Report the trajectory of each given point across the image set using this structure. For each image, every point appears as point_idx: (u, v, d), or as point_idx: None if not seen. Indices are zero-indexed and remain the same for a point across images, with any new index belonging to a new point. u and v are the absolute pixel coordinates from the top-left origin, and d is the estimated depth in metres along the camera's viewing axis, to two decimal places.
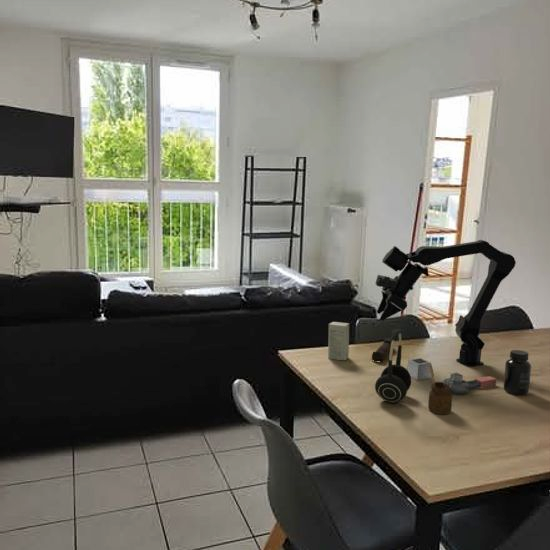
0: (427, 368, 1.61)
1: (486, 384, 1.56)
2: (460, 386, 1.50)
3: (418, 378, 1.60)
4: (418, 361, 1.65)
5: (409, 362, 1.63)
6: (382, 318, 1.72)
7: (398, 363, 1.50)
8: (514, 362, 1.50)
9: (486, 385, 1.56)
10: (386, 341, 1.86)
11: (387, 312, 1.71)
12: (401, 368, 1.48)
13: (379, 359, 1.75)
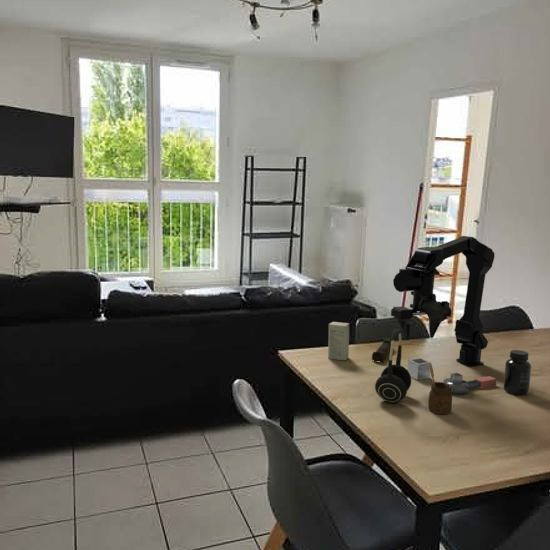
0: (427, 368, 1.61)
1: (486, 384, 1.56)
2: (460, 386, 1.50)
3: (418, 378, 1.60)
4: (418, 361, 1.65)
5: (409, 362, 1.63)
6: None
7: (398, 363, 1.50)
8: (514, 362, 1.50)
9: (486, 385, 1.56)
10: (385, 341, 1.86)
11: None
12: (401, 368, 1.48)
13: (380, 359, 1.75)
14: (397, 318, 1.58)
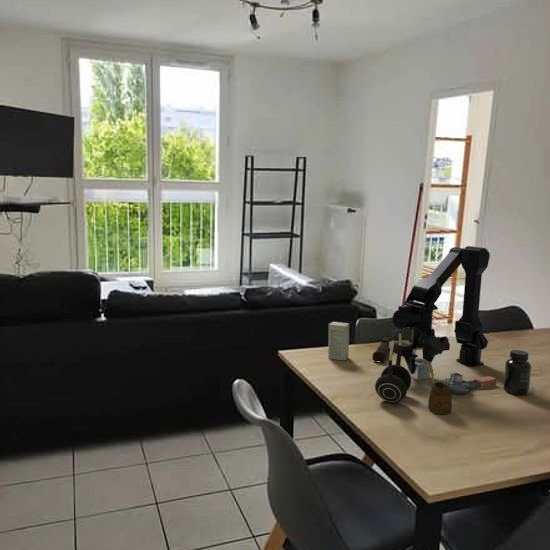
0: (427, 368, 1.61)
1: (486, 384, 1.56)
2: (460, 386, 1.50)
3: (418, 378, 1.60)
4: (418, 361, 1.65)
5: None
6: None
7: (398, 363, 1.50)
8: (514, 362, 1.50)
9: (486, 385, 1.56)
10: (384, 341, 1.87)
11: None
12: (401, 368, 1.48)
13: (380, 359, 1.75)
14: None
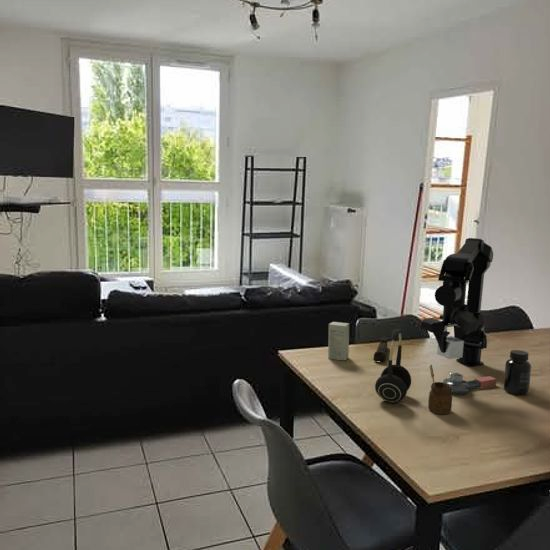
0: (459, 346, 1.51)
1: (486, 384, 1.56)
2: (460, 386, 1.50)
3: (450, 357, 1.50)
4: (449, 339, 1.55)
5: None
6: None
7: (398, 363, 1.50)
8: (514, 362, 1.50)
9: (486, 385, 1.56)
10: (383, 340, 1.87)
11: None
12: (401, 368, 1.48)
13: (382, 359, 1.75)
14: None
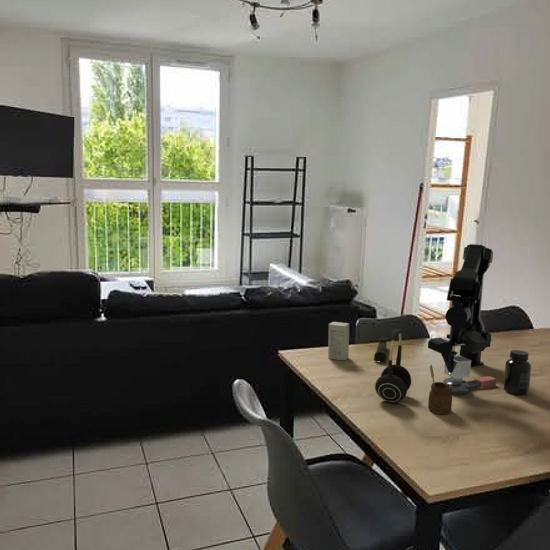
0: (467, 366, 1.50)
1: (486, 384, 1.56)
2: (460, 386, 1.50)
3: (457, 377, 1.49)
4: (456, 359, 1.54)
5: None
6: None
7: (398, 363, 1.50)
8: (514, 362, 1.50)
9: (486, 385, 1.56)
10: (382, 340, 1.87)
11: None
12: (401, 368, 1.48)
13: (382, 359, 1.75)
14: None
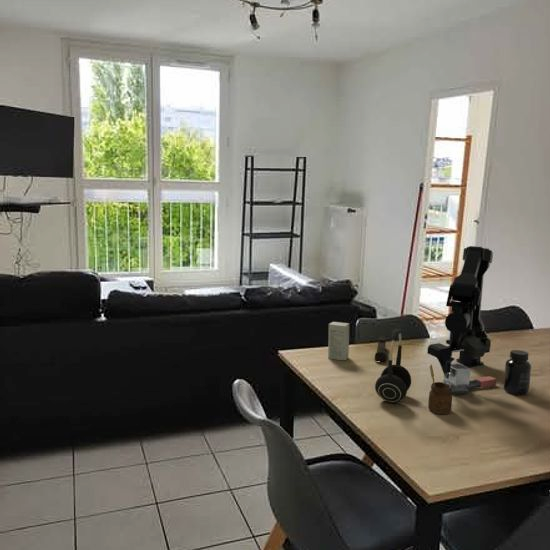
0: (466, 374, 1.50)
1: (486, 384, 1.56)
2: (460, 386, 1.50)
3: (456, 385, 1.50)
4: (455, 366, 1.54)
5: None
6: None
7: (398, 363, 1.50)
8: (514, 362, 1.50)
9: (486, 385, 1.56)
10: (381, 340, 1.87)
11: None
12: (401, 368, 1.48)
13: (383, 359, 1.75)
14: None
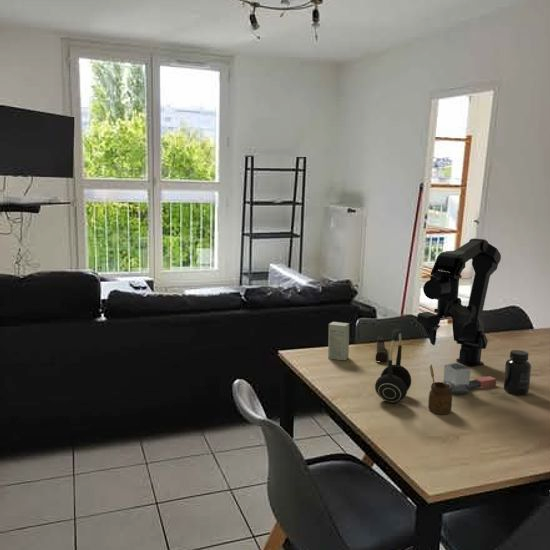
0: (466, 374, 1.50)
1: (486, 384, 1.56)
2: (460, 386, 1.50)
3: (456, 385, 1.49)
4: (455, 366, 1.54)
5: (446, 367, 1.52)
6: None
7: (398, 363, 1.50)
8: (514, 362, 1.50)
9: (486, 385, 1.56)
10: (380, 340, 1.87)
11: None
12: (401, 368, 1.48)
13: (384, 359, 1.75)
14: (423, 324, 1.58)
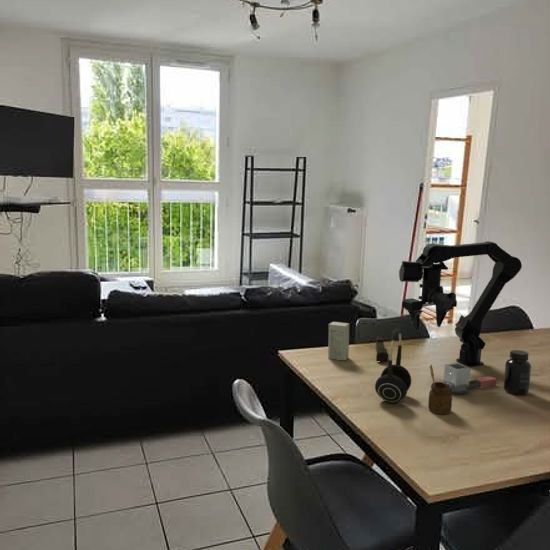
0: (466, 374, 1.50)
1: (486, 384, 1.56)
2: (460, 386, 1.50)
3: (456, 385, 1.49)
4: (455, 366, 1.54)
5: (446, 367, 1.52)
6: None
7: (398, 363, 1.50)
8: (514, 362, 1.50)
9: (486, 385, 1.56)
10: (379, 340, 1.87)
11: None
12: (401, 368, 1.48)
13: (385, 359, 1.75)
14: (408, 309, 1.71)
